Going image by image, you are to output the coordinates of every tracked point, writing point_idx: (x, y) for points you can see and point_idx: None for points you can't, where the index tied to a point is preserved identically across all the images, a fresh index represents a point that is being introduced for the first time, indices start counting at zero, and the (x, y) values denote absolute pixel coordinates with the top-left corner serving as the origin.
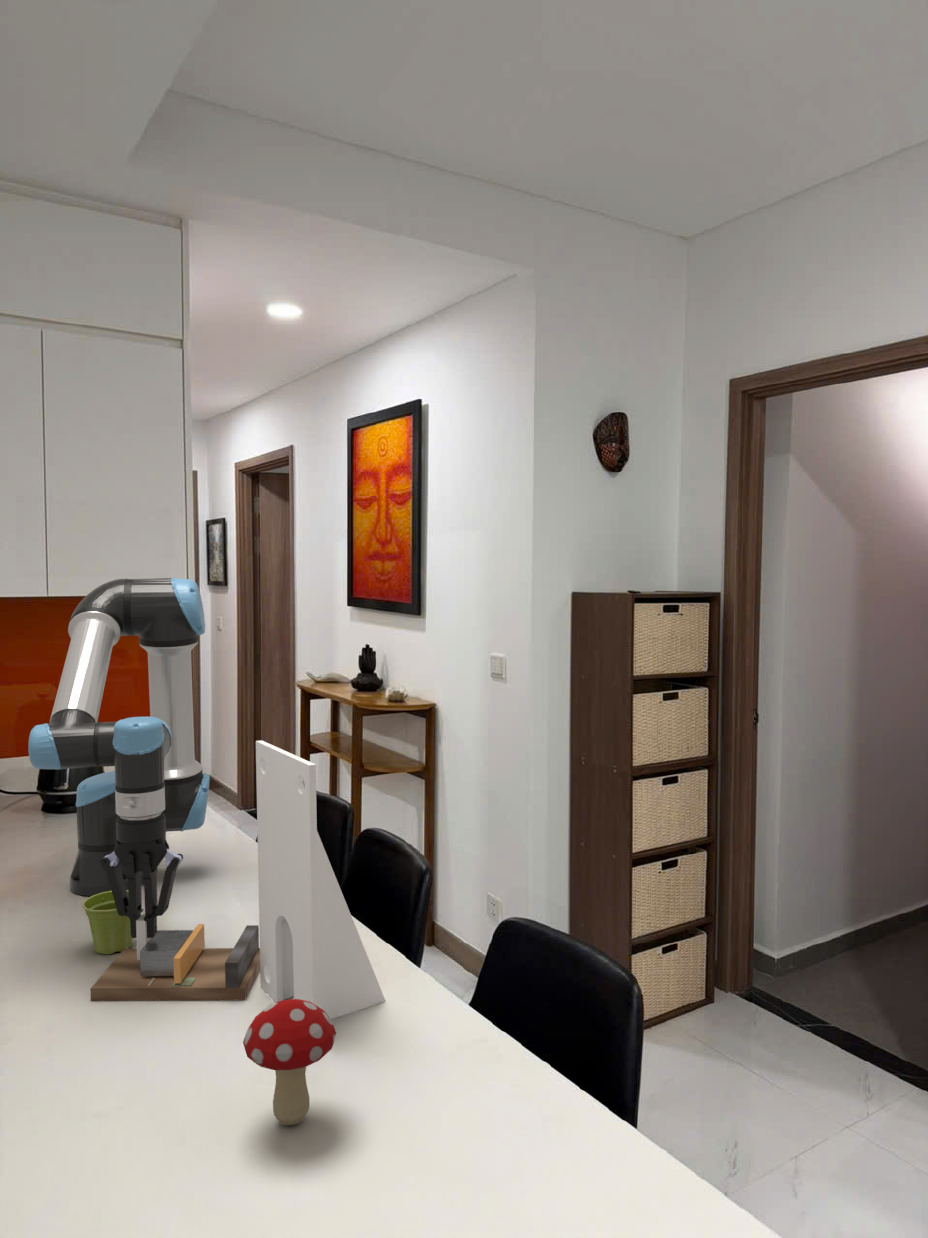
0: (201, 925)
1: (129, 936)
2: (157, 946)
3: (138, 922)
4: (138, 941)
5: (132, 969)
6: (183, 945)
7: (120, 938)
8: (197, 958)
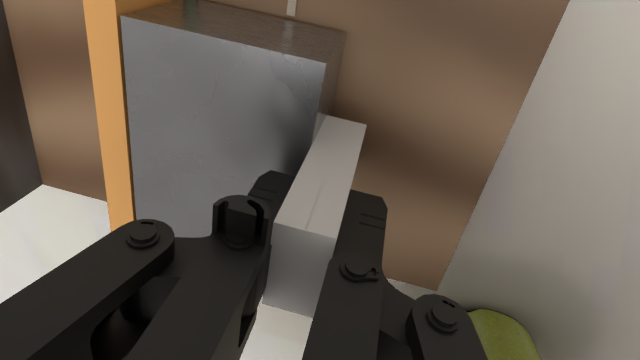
0: None
1: None
2: (244, 106)
3: (321, 227)
4: (345, 163)
5: (393, 129)
6: (117, 84)
7: None
8: None
